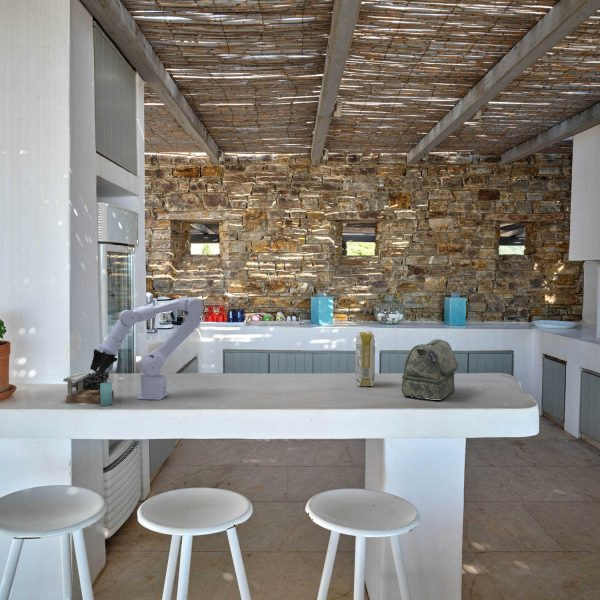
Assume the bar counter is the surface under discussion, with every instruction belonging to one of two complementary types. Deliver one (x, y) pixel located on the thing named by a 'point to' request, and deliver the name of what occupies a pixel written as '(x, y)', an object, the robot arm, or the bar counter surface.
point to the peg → (106, 393)
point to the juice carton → (365, 358)
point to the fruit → (93, 381)
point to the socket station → (82, 391)
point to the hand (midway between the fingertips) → (96, 370)
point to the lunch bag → (429, 370)
